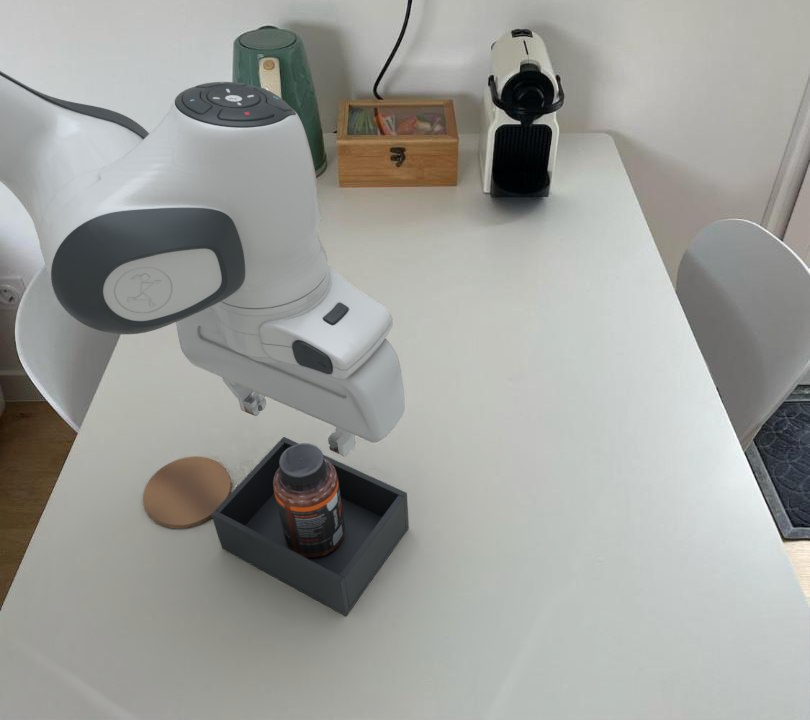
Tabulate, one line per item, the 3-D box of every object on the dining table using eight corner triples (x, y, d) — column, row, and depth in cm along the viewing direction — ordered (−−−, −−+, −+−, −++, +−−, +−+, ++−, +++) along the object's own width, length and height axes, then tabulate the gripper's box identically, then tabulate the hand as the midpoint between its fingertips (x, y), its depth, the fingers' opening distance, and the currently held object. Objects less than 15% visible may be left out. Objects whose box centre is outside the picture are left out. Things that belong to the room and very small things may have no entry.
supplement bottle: (357, 540, 79) (347, 465, 71) (303, 571, 77) (287, 497, 69) (326, 500, 83) (314, 425, 75) (274, 528, 80) (256, 453, 73)
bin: (346, 616, 74) (340, 583, 70) (221, 549, 79) (210, 514, 76) (409, 527, 81) (407, 492, 77) (290, 471, 86) (283, 436, 83)
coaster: (191, 542, 80) (190, 538, 80) (126, 506, 84) (124, 502, 83) (249, 480, 86) (248, 476, 85) (185, 448, 89) (184, 444, 89)
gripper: (140, 284, 62) (181, 409, 71) (363, 372, 54) (377, 500, 63) (195, 242, 66) (228, 366, 75) (411, 318, 58) (417, 446, 67)
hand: (297, 428), depth 69 cm, fingers open, 8 cm apart
